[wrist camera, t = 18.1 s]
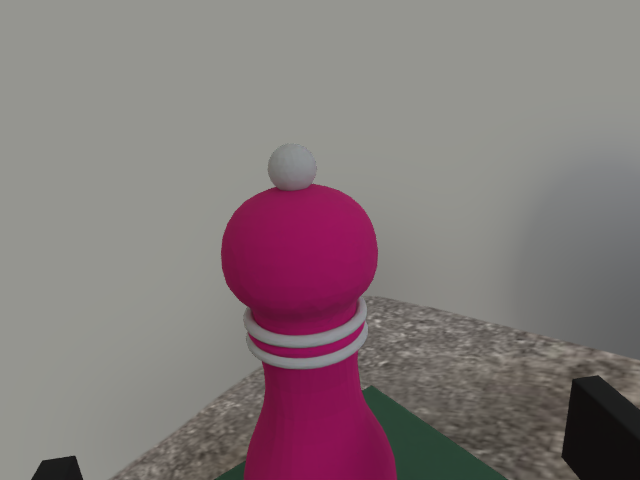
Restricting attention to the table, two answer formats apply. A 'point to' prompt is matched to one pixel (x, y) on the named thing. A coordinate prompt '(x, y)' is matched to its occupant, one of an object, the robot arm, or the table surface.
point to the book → (413, 447)
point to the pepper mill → (306, 325)
